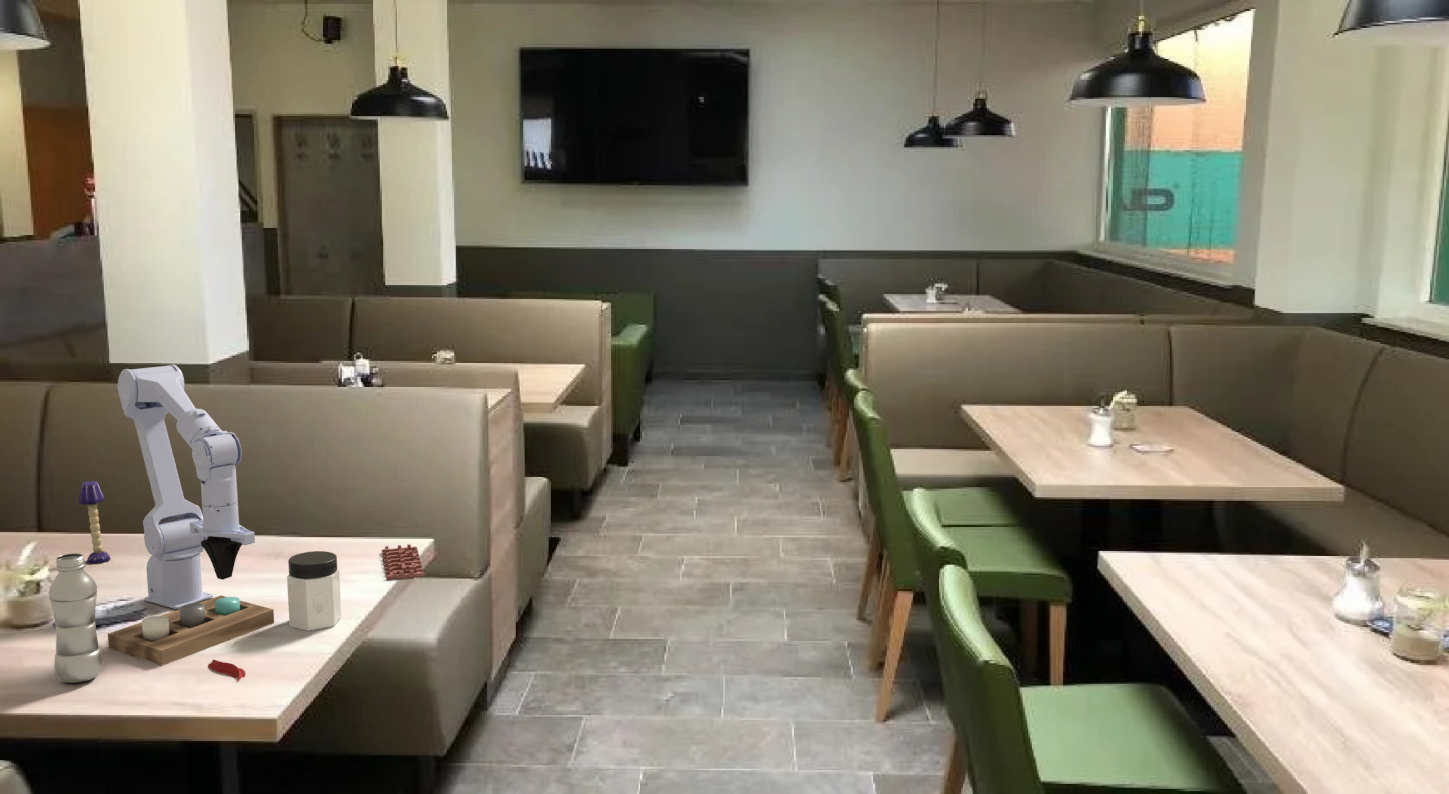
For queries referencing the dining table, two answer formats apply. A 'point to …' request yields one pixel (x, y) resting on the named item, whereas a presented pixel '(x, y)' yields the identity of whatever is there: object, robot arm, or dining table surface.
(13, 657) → the dining table surface
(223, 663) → the cayenne pepper
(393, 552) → the brown woven panel
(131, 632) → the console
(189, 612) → the graphite key
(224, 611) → the teal rounded piece
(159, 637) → the ivory key
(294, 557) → the jar
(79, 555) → the plastic bottle
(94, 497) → the toy lamp
